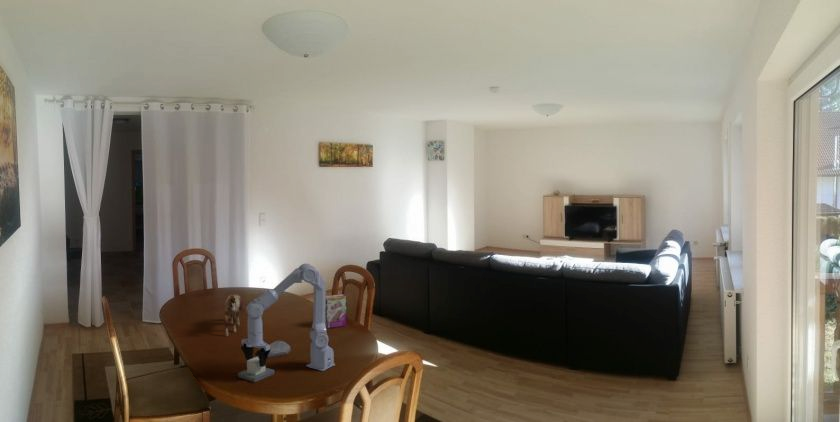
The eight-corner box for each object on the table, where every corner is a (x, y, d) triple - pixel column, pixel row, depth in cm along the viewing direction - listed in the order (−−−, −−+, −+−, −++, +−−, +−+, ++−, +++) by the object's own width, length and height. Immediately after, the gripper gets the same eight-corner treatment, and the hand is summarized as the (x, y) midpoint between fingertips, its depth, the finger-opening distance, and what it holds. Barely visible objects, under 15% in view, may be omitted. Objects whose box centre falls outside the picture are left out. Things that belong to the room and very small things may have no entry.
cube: (265, 370, 210) (265, 359, 210) (255, 375, 206) (255, 363, 205) (257, 368, 213) (256, 356, 212) (247, 372, 208) (246, 360, 208)
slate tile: (274, 373, 211) (274, 370, 211) (255, 382, 203) (255, 378, 202) (257, 368, 216) (257, 365, 216) (238, 376, 208) (237, 373, 208)
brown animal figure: (236, 338, 253) (235, 297, 251) (220, 339, 251) (218, 298, 249) (246, 319, 283) (245, 282, 281) (231, 320, 282) (230, 283, 280)
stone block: (292, 355, 236) (279, 346, 242) (293, 346, 235) (280, 337, 241) (271, 364, 227) (257, 355, 232) (271, 354, 225) (258, 345, 231)
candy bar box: (326, 329, 267) (326, 298, 265) (323, 326, 271) (323, 296, 270) (346, 326, 273) (346, 295, 271) (343, 323, 277) (343, 293, 275)
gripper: (235, 331, 208) (236, 363, 209) (259, 337, 201) (260, 371, 202) (249, 326, 214) (249, 358, 215) (273, 332, 207) (274, 365, 208)
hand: (256, 364), depth 209 cm, fingers open, 7 cm apart
